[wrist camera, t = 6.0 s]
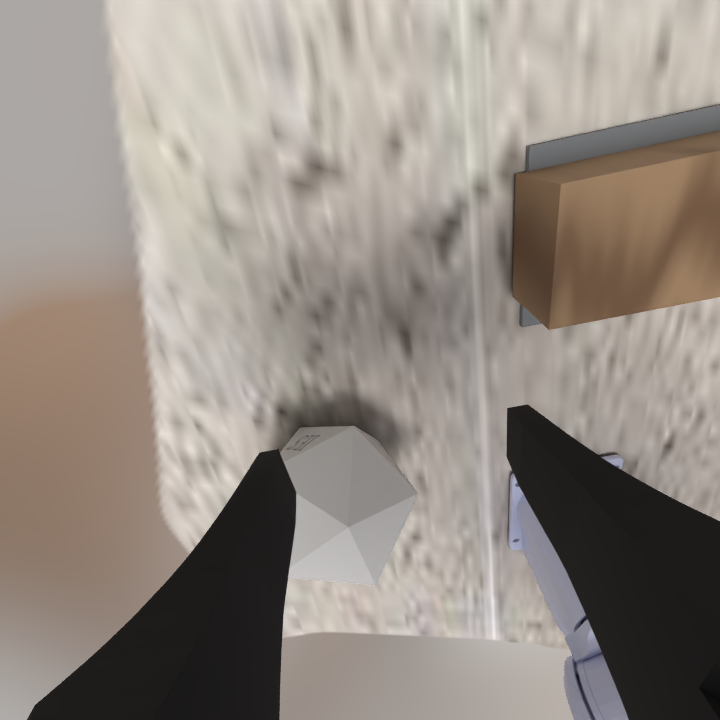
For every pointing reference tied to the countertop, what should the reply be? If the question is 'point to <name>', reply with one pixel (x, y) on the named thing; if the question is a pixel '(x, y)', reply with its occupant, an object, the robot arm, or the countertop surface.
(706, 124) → the mat
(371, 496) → the die
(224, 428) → the countertop surface
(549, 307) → the walnut block
